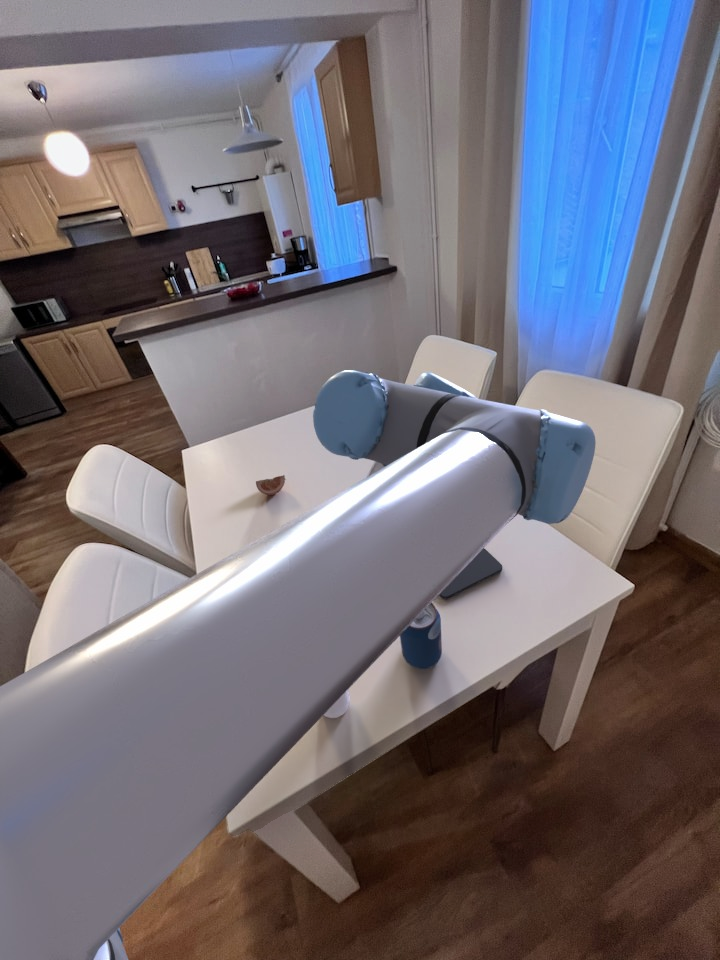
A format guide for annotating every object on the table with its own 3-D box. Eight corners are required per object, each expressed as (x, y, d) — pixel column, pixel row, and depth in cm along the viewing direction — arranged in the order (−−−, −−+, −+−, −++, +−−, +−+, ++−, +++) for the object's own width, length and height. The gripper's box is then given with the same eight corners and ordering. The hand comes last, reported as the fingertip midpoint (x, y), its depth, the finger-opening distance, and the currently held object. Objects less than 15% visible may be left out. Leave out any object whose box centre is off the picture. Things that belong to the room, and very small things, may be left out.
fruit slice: (287, 482, 121) (283, 468, 118) (289, 495, 115) (284, 481, 112) (260, 489, 120) (255, 475, 117) (260, 502, 114) (255, 488, 112)
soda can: (450, 658, 70) (449, 617, 63) (417, 680, 68) (413, 639, 61) (426, 629, 75) (423, 587, 68) (394, 648, 73) (388, 607, 66)
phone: (423, 573, 85) (481, 545, 88) (423, 576, 85) (481, 548, 89) (443, 598, 79) (505, 567, 83) (443, 601, 79) (504, 570, 83)
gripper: (483, 560, 46) (397, 683, 53) (344, 448, 59) (290, 559, 66) (455, 572, 40) (362, 708, 47) (307, 445, 53) (252, 567, 60)
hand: (320, 622), depth 57 cm, fingers open, 13 cm apart
